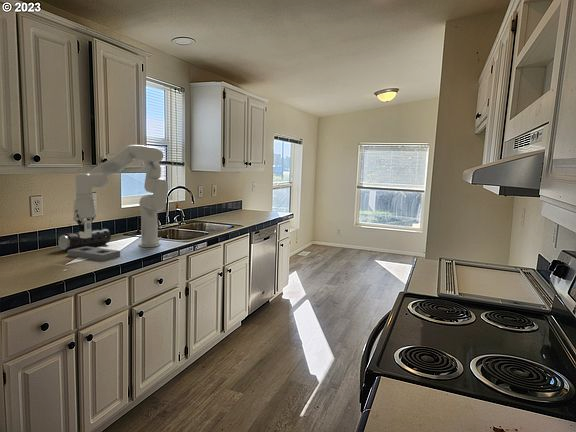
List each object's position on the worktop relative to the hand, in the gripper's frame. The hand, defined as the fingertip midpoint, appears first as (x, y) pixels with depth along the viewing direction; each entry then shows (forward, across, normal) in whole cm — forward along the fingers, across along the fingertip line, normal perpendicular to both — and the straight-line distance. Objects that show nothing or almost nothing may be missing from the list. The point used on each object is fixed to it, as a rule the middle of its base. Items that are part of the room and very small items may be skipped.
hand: (85, 230), depth 207 cm
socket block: (+14, 0, +6) cm, 15 cm away
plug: (+4, 0, 0) cm, 4 cm away
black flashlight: (+14, -14, -15) cm, 25 cm away
